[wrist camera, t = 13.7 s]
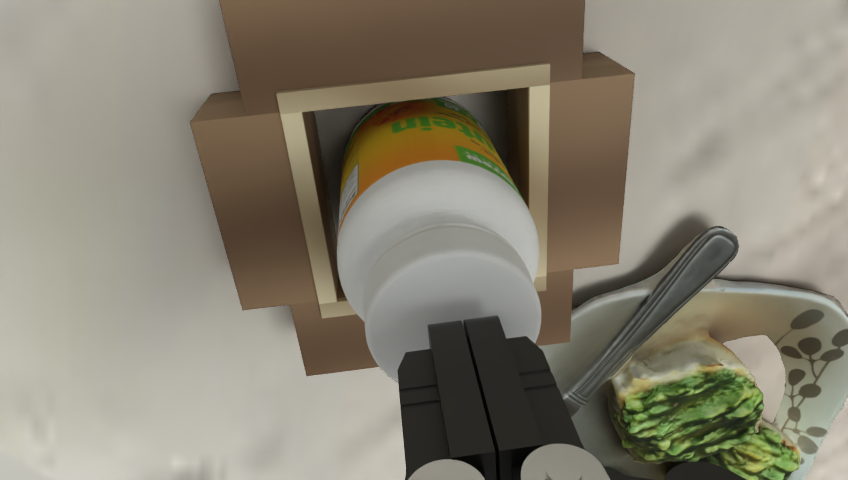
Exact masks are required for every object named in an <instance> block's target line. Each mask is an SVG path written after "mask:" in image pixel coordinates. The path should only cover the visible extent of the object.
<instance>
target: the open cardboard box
mask: <svg viewBox="0 0 848 480" xmlns="http://www.w3.org/2000/svg"><path fill="white" fill-rule="evenodd" d="M219 2H220V6H221V10H222V15H223V19H224V23H225V27H226V32H227V36H228V40H229V45H230V49H231V53H232V58H233V62H234V66H235V70H236V75H237V79H238V83H239V88H240V91H234V92H224V93H215V94H211V95H210V97H209V98H208V99H207V101H206V102H205V103H204V105H203V106H202V107H201V108H200V110H199V111H198V112H197V114H196V115H195V116H194V118H193V119H192V120H191V122H190V125H191V128H192V132H193V135H194V139H195V143H196V146H197V150H198V153H199V157H200V160H201V164H202V168H203V171H204V175H205V178H206V182H207V185H208V189H209V192H210V196H211V200H212V203H213V207H214V210H215V214H216V217H217V221H218V225H219V228H220V232H221V235H222V239H223V242H224V246H225V249H226V253H227V257H228V260H229V264H230V267H231V271H232V274H233V278H234V281H235V285H236V289H237V292H238V296H239V299H240V303H241V306H242V310H249V309H257V308H265V307H274V306H282V305H290V307H291V311H292V315H293V320H294V324H295V328H296V333H297V337H298V341H299V345H300V350H301V354H302V358H303V363H304V367H305V371H306V375H307V376H311V375H319V374H327V373H335V372H342V371H350V370H358V369H366V368H373V367H379V366H378V364H377V363H376V362H375V360H374V358H373V356H372V354H371V352H370V350H369V347H368V344H367V341H366V333H365V322H364V321H363V320H362V319H361V318H360V317H359V316H358V315H357V313H356V312H355V311H354V310H353V308H352V307H351V305H350V304H349V302H348V300H347V298H346V296H345V294H344V291H343V289H342V286H341V282H340V278H339V273H338V265H337V239H336V233H335V228H334V222H333V216H332V211H331V205H330V199H329V194H328V188H327V182H326V177H325V171H324V165H323V159H322V154H321V148H320V142H319V137H318V131H317V125H316V120H315V114H314V111H317V110H326V109H335V108H344V107H353V106H362V105H371V104H380V103H389V102H398V101H407V100H416V99H426V98H435V97H444V96H453V95H462V94H471V93H480V92H489V91H498V90H506V94H507V152H508V173H509V175H510V177H511V179H512V180H513V182H514V184H515V186H516V188H517V189H518V191H519V193H520V195H521V196H522V198H523V200H524V201H525V203H526V205H527V207H528V209H529V211H530V214H531V216H532V218H533V221H534V223H535V226H536V230H537V234H538V242H539V264H538V270H537V274H536V278H535V281H534V283H533V284H534V286H535V289H536V291H537V294H538V297H539V300H540V305H541V326H540V331H539V335H538V338H537V340H536V343H535V344H536V345H537V346H544V345H552V344H559V343H567V342H570V334H571V311H572V288H573V269H580V268H589V267H597V266H605V265H613V264H618V263H619V252H620V240H621V228H622V217H623V205H624V193H625V181H626V170H627V158H628V146H629V135H630V123H631V111H632V100H633V88H634V76H635V73H633V72H631V71H630V70H628V69H627V68H625V67H623V66H622V65H620V64H618V63H617V62H615V61H613V60H612V59H610V58H608V57H607V56H605V55H604V54H602V53H600V52H594V53H585V54H583V33H584V10H585V0H219Z"/></svg>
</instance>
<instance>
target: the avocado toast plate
mask: <svg viewBox="0 0 848 480" xmlns="http://www.w3.org/2000/svg"><path fill="white" fill-rule="evenodd" d="M738 248H739V245H738V240H737V236H735V235H734V234H733V233H732V232H730V231H729V230H728V229H726V228H724V227H721V226H715V227H711V228H708V229H706V230H704V231H703V232H701V233H700V234H698V235H697V236H696V237H695V238H694V239H693V240H692V241H691V242H690V243H689V244H687V245H686V246H685V247H684V248H683V249H682V250H681V252H680V253H679V254H678V255H677V256H676V257H675V258H674V259H673V260H672V261H671V262H669V264H668V265H667V266H666V267H665V268H663V269H662V270H661V271H659V272H658V273H656V274H655V275H653V276H651V277H649V278H647V279H645V280H643V281H641V282H638V283H635V284H632V285H629V286H626V287H624V288H621V289H618V290H615V291H612V292H608V293H605V294H601V295H597V296H595V297H593V298H591V299H589V300H588V301H586V302H584V303H583V304H581V305H580V306H579V307H577V308H575V309H573V310H572V311H571V334H570V342H567V343H559V344H552V345H544V346H538V347H539V348H540V349H542V350H543V352H544V355H545V357H546V360H547V362H548V364H549V367H550V370H551V372H552V374H553V376H554V379H555V381H556V383H557V388H559V390H560V393H561V395H562V397H563V400H564V402H565V405H566V407H567V409H568V412H569V414H570V416H571V419H572V421H573V424H574V426H575V428H576V431H577V433H578V435H579V438H580V440H581V443H582V445H583V446H584V448H585V450H586V451H587V452H589V453H590V454H592V455H593V456H594V457H595V458H596V459H597V460H598V461H599V462H600V463H601V464H602V466H604V467H606V468H607V469H610V470H612V471H614V472H617V473H620V474H623V475H627V476H632V477H640V478H647V479H654V480H664V477H665V476H666V474H667V473H668V472H669V471H670V470H671V469H672V468H674V467H675V466H677V465H679V464H682V463H686V462H697V461H698V462H707V463H712V464H715V465H718V466H721V467H724V468H726V469H728V470H730V471H732V472H734V473H735V474H737V475H739V476H741V477H743V478H745V479H747V480H804V478H805V476H806V474H807V472H808V470H809V469H810V467H811V464H812V462H813V460H814V458H815V456H816V454H817V453H818V450H819V448H820V446H821V444H822V441H823V439H824V438H825V436H826V435H827V433H828V431H829V429H830V426H831V423H832V421H833V420H834V419H835V417H836V416H837V415H838V413H839V411H840V410H841V409H842V408H843V407H844V402H845V400H846V398H847V396H848V314H847V313H846V312H845V311H844V308H843V306H842V305H841V303H840V302H839V301H838V300H837V299H835V298H834V296H830V295H827V294H823V293H820V292H816V291H811V290H803V289H799V288H793V287H788V286H783V285H776V284H768V283H760V282H735V281H727V280H722V279H713V278H715V277H716V276H717V275H718V274H719V273H720V272H721V271H722V270H723V269H724V268H725V267H726V266H727V265H728V264H729V262H731V261H732V260H733V259H734V258H735V256H736V254H737V252H738ZM757 335H766V336H768V337H769V339H770V340H771V341H772V342H773V343H774V344H775V346H776V347H777V349H778V350H779V352H780V355H781V359H782V361H783V364H784V367H785V372H786V383H785V392H784V396H783V399H782V402H781V404H780V408H779V410H778V413H777V415H776V418H775V420H774V422H773V423H772V424H770V423H768V422H766V421H764V420H763V419H762V411H763V408H764V404H763V393H762V392H761V391H760V390H759V388H758V387H757V384H756V383H755V377H754V376H753V375H752V374H751V373H750V371H749V369H748V368H747V367H746V366H745V365H744V364H743V363H742V362H741V361H740V360H739V359H738V357H737V356H736V355H735V354H734V353H733V352H732V351H731V350H730V349H728V348H727V347H726V346H725V345H723V344H722V343H724V342H726V341H730V340H735V339H738V338H742V337H748V336H757Z"/></svg>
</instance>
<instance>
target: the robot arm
mask: <svg viewBox="0 0 848 480" xmlns="http://www.w3.org/2000/svg"><path fill="white" fill-rule="evenodd" d="M427 326H428V337H429V346H430V349H426V350H418V351H411V352H406V353H405V355H404V357H403V359H402V361H401V364H400V366H399V368H398V370H397V371H398V383H399V394H400V405H401V416H402V427H403V438H404V450H405V461H406V477H405V480H654V479H647V478H640V477H632V476H627V475H623V474H620V473H617V472H614V471H612V470H610V469H607V468H606V467H604V466H602V464H601V463H600V462H599V461H598V460H597V459H596V458H595V457H594V456H593V455H592V454H590V453H589V452H587V451H586V450H585V448H584V446H583V445H582V443H581V440H580V438H579V435H578V433H577V431H576V428H575V426H574V424H573V421H572V419H571V416H570V414H569V412H568V409H567V407H566V405H565V402H564V400H563V397H562V395H561V393H560V390H559V388H557V383H556V381H555V379H554V376H553V374H552V372H551V370H550V367H549V364H548V362H547V360H546V357H545V355H544V352H543V350H542V349H540V348H539V347H538V346H537V345H536V344H535V343H534V342H532V341H531V340H530V339H529V338H528V337H527V336H522V337H515V338H507V339H506V336H505V333H504V330H503V327H502V325H501V322H500V319H499V317H498V315H496V316H489V317H481V318H473V319H466V320H463V324H462V321H461V320H459V321H452V322H444V323H436V324H429V325H427ZM664 480H747V479H745V478H743V477H741V476H739V475H737V474H735V473H734V472H732V471H730V470H728V469H726V468H724V467H721V466H718V465H715V464H712V463H707V462H698V461H697V462H686V463H682V464H679V465H677V466H675V467H674V468H672V469H671V470H670V471H669V472H668V473H667V474H666V476H665V477H664Z"/></svg>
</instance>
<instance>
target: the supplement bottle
mask: <svg viewBox="0 0 848 480" xmlns="http://www.w3.org/2000/svg"><path fill="white" fill-rule="evenodd" d="M538 264H539V242H538V234H537V230H536V226H535V223H534V221H533V218H532V216H531V214H530V211H529V209H528V207H527V205H526V203H525V201H524V200H523V198H522V196H521V195H520V193H519V191H518V189H517V188H516V186H515V184H514V182H513V180H512V179H511V177H510V175H509V173H508V171H507V169H506V167H505V165H504V164H503V162H502V160H501V158H500V157H499V155H498V153H497V151H496V149H495V147H494V146H493V144H492V142H491V140H490V138H489V136H488V134H487V133H486V131H485V130H484V128H483V126H482V125H481V124H480V122H479V121H478V120H477V119H476V118H475V116H474V115H472V114H471V113H470V112H469V111H468V110H467V109H465V108H464V107H463V106H461V105H459V104H458V103H456V102H454V101H452V100H450V99H447V98H444V97H435V98H426V99H416V100H407V101H398V102H389V103H382V104H380V105H378V106H377V107H375V108H374V109H372V110H371V111H370V112H369V113H368V114H366V115H365V116H364V117H363V118H362V119H361V121H360V122H359V123H358V124H357V126H356V127H355V129H354V130H353V132H352V134H351V136H350V138H349V140H348V143H347V146H346V149H345V152H344V157H343V164H342V177H341V193H340V208H339V226H338V241H337V265H338V273H339V278H340V282H341V286H342V289H343V291H344V294H345V296H346V298H347V300H348V302H349V304H350V305H351V307H352V308H353V310H354V311H355V312H356V313H357V315H358V316H359V317H360V318H361V319H362V320H363V321H364V322H365V333H366V341H367V344H368V347H369V350H370V352H371V354H372V356H373V358H374V360H375V362H376V363H377V364H378V366H379V367H380V368H381V369H382V370H383V371H384V372H385V373H386V374H387V375H388V376H389V377H391V378H392V379H393V380H395V381H396V382H398V371H397V370H398V368H399V366H400V364H401V361H402V359H403V357H404V355H405V353H406V352H411V351H418V350H426V349H430V346H429V337H428V326H427V325H429V324H436V323H444V322H452V321H459V320H461V321H462V324H463V320H466V319H473V318H481V317H489V316H496V315H498V317H499V319H500V322H501V325H502V327H503V330H504V333H505V336H506V339H507V338H515V337H522V336H527V337H528V338H529V339H530V340H531V341H532V342H534V343H536V340H537V338H538V335H539V331H540V326H541V305H540V300H539V297H538V294H537V291H536V289H535V286H534V284H533V283H534V281H535V278H536V274H537V270H538Z"/></svg>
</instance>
